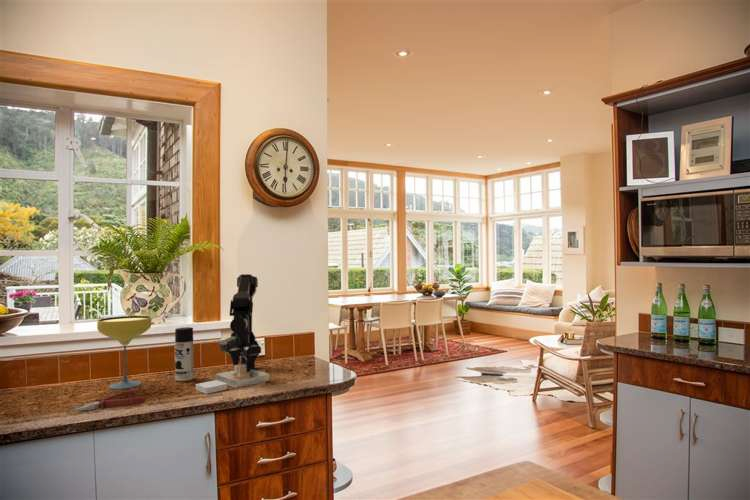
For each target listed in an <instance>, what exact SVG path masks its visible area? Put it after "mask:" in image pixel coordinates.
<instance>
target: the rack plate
mask: <svg viewBox="0 0 750 500" xmlns="http://www.w3.org/2000/svg"><path fill="white" fill-rule="evenodd" d="M214 380H218V381H221V382H224V383H227V386H229V387H232V388H235V389H238V388H243V387H247V386H252V385H257V384H260V383H264V382H269V381H270V373H266V372H264V371H259V370H257V369H253V370H252V369H251V370H250V372H249V375H246V376H241V377H240V376H239V377H238V376H235V373H234V370H230V371H224V372H220V373H214Z"/></svg>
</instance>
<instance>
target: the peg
mask: <svg viewBox="0 0 750 500" xmlns="http://www.w3.org/2000/svg"><path fill="white" fill-rule="evenodd" d="M233 369H234V370H233V371H234V373H235V376H238V377H239V376H240V377H241V376H246V375H249V372H247V371H246V364H240V363H238V365H234V366H233Z"/></svg>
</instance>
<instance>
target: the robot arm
mask: <svg viewBox="0 0 750 500" xmlns="http://www.w3.org/2000/svg"><path fill="white" fill-rule="evenodd" d="M236 287H237V288H238V289H237V292H236V293H235V294H234V295H233V297H232V300H230V307H229V316H230V317H233V319H232V320H231V321H230V324H229V329H230V330H231V333H230V337H228V338H226V339H224V340H221V341H220V342H218V345H219V347H220V350H221V352H225V353H227V355H229V357H230V359H231V362H232V366H233V367H234V365H239V364H246V371H247V372H250V370H251V369H252V370H257V369H259V366H258V367H257V366H256V360H257V357H258V356H260V354H262V347H261V346H260V345H259V342H258V341H257V338H256V335H255V334H254V332H253V312H254V311H253V310H254V302H253V299H254V296H255V294H256V293H257V288H258V287H259V280H258V277H257V276H253V275H252V274H250V273H249V274H248V273H247V274H246V273H245V274H239V276H238V277H237V278H236Z"/></svg>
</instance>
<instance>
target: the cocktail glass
mask: <svg viewBox="0 0 750 500" xmlns="http://www.w3.org/2000/svg"><path fill="white" fill-rule="evenodd" d="M96 323H97V324H96V328H97V331H98V332H99V333H100V334H101V335H104V336H105V337H108V338H111V339H113V340H115V341H117V342H118V343H120V345H121V346H122V347H123V353H124V354H123V378H122V381H120V382H116V383H112V384H110V385H109V386H108V389H110V390H128V389H134V388H136V387H138V386H141V385H142V382H140V381H137V380H128V375H127V346H129V344H130V343H131V342H132V340H134V339H135V338H137V337H139V336H141V335H142V334H144V333H146V332H147V331H148V330H149V329H151V327H152V317H151V316H149V315H148V316H146V315H130V316H129V315H126V316H113V317H105V318H100V319H98V320H97V322H96Z"/></svg>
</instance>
